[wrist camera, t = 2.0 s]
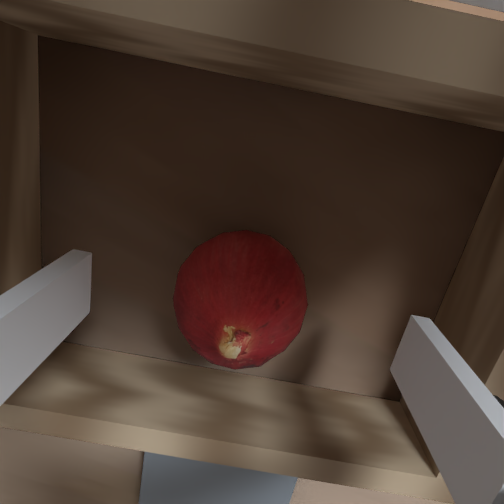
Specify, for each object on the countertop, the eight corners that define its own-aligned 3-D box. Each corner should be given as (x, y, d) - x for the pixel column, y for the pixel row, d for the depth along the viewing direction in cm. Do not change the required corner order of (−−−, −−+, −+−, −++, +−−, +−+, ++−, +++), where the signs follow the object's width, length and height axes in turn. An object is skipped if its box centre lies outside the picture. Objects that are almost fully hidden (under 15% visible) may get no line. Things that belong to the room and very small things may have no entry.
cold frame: (18, 354, 22) (-113, 477, 14) (1, -12, 15) (-258, -146, 8) (414, 424, 22) (490, 575, 15) (559, 106, 16) (822, 90, 8)
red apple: (303, 307, 20) (326, 419, 12) (202, 318, 20) (166, 432, 13) (293, 206, 18) (314, 266, 10) (182, 220, 18) (125, 287, 11)
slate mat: (141, 505, 26) (136, 519, 25) (154, 397, 22) (149, 409, 21) (275, 527, 26) (276, 542, 25) (308, 424, 23) (310, 437, 22)
